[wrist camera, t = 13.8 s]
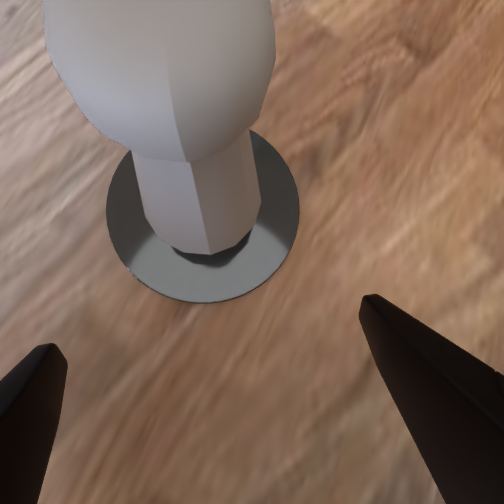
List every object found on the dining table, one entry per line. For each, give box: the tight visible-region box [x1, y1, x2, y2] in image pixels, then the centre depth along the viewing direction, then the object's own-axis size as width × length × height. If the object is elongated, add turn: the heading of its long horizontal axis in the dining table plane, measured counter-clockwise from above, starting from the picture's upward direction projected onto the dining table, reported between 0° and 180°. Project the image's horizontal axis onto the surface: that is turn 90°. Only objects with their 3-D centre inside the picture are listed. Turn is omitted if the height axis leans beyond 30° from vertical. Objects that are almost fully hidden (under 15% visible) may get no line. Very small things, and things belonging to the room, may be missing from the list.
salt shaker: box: [42, 0, 276, 255], centre depth 11 cm, size 6×6×13 cm
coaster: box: [106, 130, 300, 303], centre depth 18 cm, size 11×11×1 cm
